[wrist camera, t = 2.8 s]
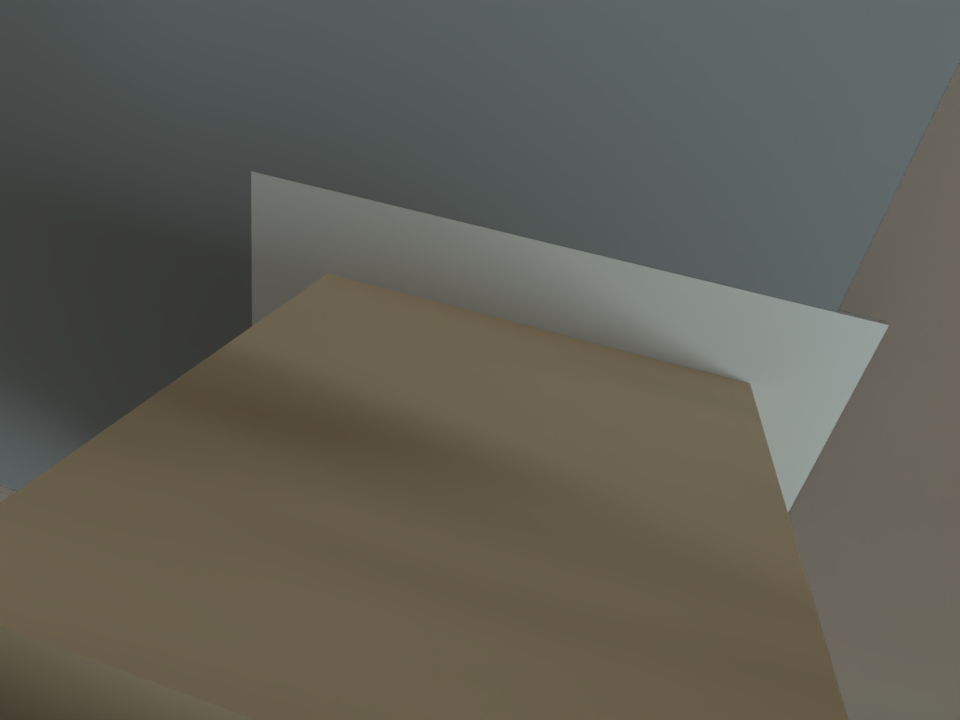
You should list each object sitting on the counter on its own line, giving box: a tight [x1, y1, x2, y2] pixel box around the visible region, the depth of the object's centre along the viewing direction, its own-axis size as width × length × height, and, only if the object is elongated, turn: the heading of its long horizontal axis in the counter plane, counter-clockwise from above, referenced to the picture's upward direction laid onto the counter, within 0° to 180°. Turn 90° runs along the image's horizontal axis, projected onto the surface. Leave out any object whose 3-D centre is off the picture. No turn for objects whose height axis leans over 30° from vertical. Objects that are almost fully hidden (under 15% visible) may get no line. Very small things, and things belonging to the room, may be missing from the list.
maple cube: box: [0, 274, 848, 720], centre depth 6 cm, size 5×5×5 cm
